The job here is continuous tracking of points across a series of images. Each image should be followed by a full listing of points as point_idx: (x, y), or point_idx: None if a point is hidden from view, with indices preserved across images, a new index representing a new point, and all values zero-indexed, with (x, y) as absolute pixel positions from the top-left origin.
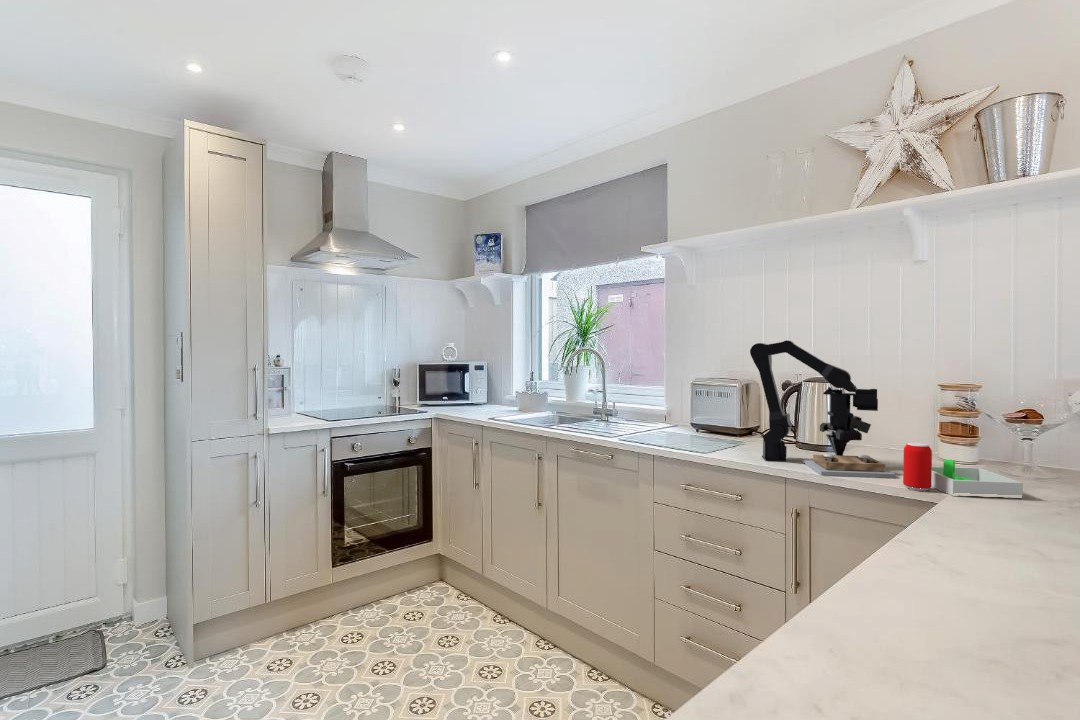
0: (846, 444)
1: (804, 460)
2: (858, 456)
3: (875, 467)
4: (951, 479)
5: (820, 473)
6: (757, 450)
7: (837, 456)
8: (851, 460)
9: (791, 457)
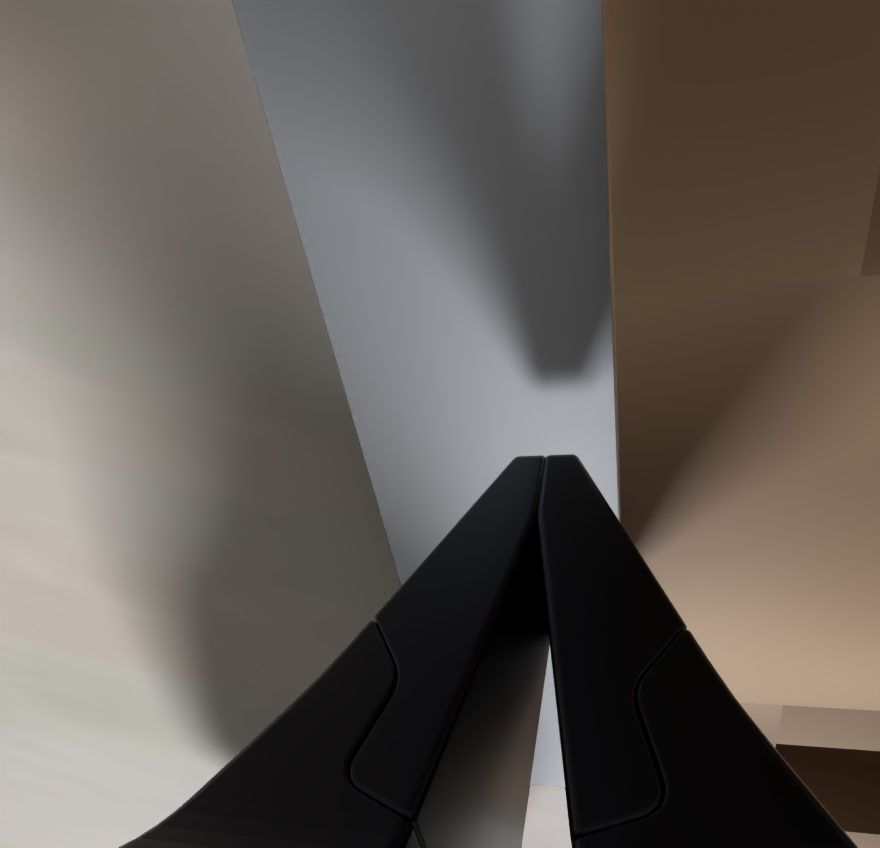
0: (832, 819)
1: (533, 781)
2: (734, 35)
3: None
4: None
5: None
6: (20, 829)
7: (785, 628)
8: None
9: (182, 728)
